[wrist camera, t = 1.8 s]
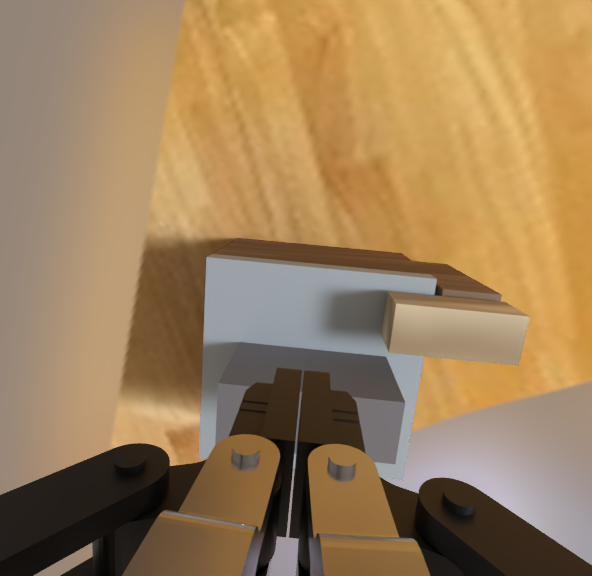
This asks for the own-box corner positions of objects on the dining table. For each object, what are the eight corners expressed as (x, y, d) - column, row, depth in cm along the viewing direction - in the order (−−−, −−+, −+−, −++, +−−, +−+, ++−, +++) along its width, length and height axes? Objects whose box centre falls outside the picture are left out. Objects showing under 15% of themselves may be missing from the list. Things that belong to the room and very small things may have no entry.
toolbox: (239, 238, 30) (206, 257, 22) (448, 257, 30) (503, 285, 21) (230, 386, 33) (199, 457, 24) (422, 406, 33) (461, 486, 24)
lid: (216, 251, 24) (173, 276, 17) (425, 271, 23) (472, 304, 16) (208, 436, 26) (169, 524, 19) (395, 456, 26) (424, 553, 19)
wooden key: (387, 290, 21) (396, 303, 19) (505, 302, 21) (529, 316, 19) (381, 335, 22) (388, 352, 19) (495, 346, 22) (518, 366, 19)
